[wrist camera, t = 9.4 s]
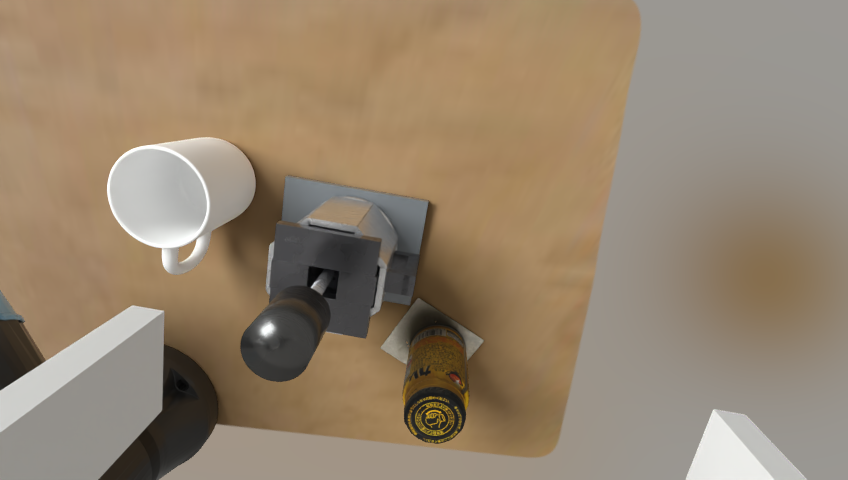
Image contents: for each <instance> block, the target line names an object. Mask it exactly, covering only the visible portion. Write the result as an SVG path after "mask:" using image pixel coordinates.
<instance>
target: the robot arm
mask: <svg viewBox="0 0 848 480" xmlns="http://www.w3.org/2000/svg"><path fill="white" fill-rule="evenodd" d="M24 322H25V320H24V319H23V317H22V316H21V315H18V314H16V312H15V311H14V309H13V308H12V307H11V305H10V304H9V302H8V301H7V299H6V298H5V296H4V295H3V294H2V292H1V291H0V480H159V479H160V478H161V477H163V476H164V475H166V474H167V473H169V472H170V471H171V470H173V469H174V468H176V467H177V466H178V465H180V464H182V463H184V462H185V461H187V460H189V459H190V458H191V457H192V456H194V455H195V454H196V453H197V452H198V451H199V449H201V447H202V446H203V444H204V443H205V442H206V440H207V439H208V437H209V436H210V435H211V433H212V431H213V429H214V427H215V425H216V421H217V416H218V403H217V398H216V394H215V391H214V388H213V386H212V384H211V382H210V380H209V379H208V377H207V376H206V374H205V373H204V372H203V370H202V369H201V368H200V367H199V366H198V365H197V364H196V363H195V362H194V361H192V360H191V359H190V358H189V357H187V356H186V355H184V354H183V353H181V352H179V351H177V350H175V349H173V348H171V347H169V346H166V345H164V311H161V310H156V309H150V308H144V307H139V306H133V305H132V306H130V307H129V308H127V309H126V310H124V311H123V312H121V313H120V314H118V315H117V316H115V317H113V318H112V319H110V320H109V321H107V322H106V323H104V324H103V325H101V326H100V327H98V328H96V329H95V330H93V331H92V332H90V333H89V334H87V335H86V336H84V337H82V338H81V339H79V340H78V341H76V342H75V343H73V344H72V345H70V346H69V347H67V348H65V349H64V350H62V351H61V352H59V353H58V354H56V355H55V356H53V357H52V358H50V359H48V360H47V361H46V360H45V358H44V357H43V355H42V354H41V352H40V350H39V349H38V347H37V345H36V344H35V342H34V341H33V339H32V337H31V336H30V334H29V332H28V331H27V329H26V328H25V326H24V324H23V323H24ZM686 480H807V479H806V478H805V477H804V476H803V475H802V474H801V473H800V472H799V470H798V469H796V467H795V466H794V465H793V464H792V463H791V462H790V461H789V460H788V459H787V458H786V457H785V456H784V455H783V454H782V453H781V452H780V450H779V449H778V448H777V447H776V446H775V445H774V444H773V443H772V442H771V441H770V440H769V439H768V438H767V437H766V436H765V435H764V434H763V433H762V432H761V430H760V429H759V428H758V427H757V426H756V425H755V424H754V423H753V422H752V421H751V420H750V419H749V418H748V417H747V416H746V415H744V414H739V413H733V412H727V411H722V410H716V409H714V410H713V412H712V414H711V417H710V420H709V422H708V425H707V427H706V429H705V432H704V435H703V437H702V440H701V442H700V445H699V447H698V450H697V452H696V455H695V457H694V460H693V462H692V465H691V468H690V470H689V472H688V475H687V477H686Z"/></svg>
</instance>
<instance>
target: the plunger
mask: <svg viewBox="0 0 848 480" xmlns="http://www.w3.org/2000/svg"><path fill="white" fill-rule="evenodd" d="M315 227H321V228H326V229H332V230H338V231H343V232H349V233H354V232H350V231H345V230H339V229H333V228H328V227H322V226H317V225H315ZM354 234H355V233H354ZM378 268H379V265H378ZM377 270H378V269H377ZM311 273H312V275H313V276H314V277H315V278H316V279H317V280H316V281H315V282H314V284H313V285H312V286H311V288H310V287H307V286H301V285H296V286H290V287H287V288H285V289H283V290H282V291H280V292H279V293H278V294H277V295H276V297H275V298H274V299H273V300H272V301H271V302H270V303H269V304H268V306H267V307H266V308H265V309H264V310H263V311H262V312H261V313H260V315H259V316H258V317H257V318H256V319H255V320H254V321H253V323H252V324H251V325H250V326H249V327H248V328H247V329H246V331H245V332H244V334H243V336H242V339H241V354H242V357H243V359H244V361H245V363H246V365H247V366H248V367H249V368H250V369H251V371H253V372H254V373H255V374H256V375H258V376H260V377H262V378H264V379H266V380H270V381H276V382H283V381H288V380H291V379H294V378H296V377H298V376H299V375H300V374H301V373H302V372H303V371H304V370H305V369H306V367H307V365H308V363H309V362H310V360H311V358H312V356H313V354H314V352H315V350H316V348H317V347H318V345H319V343H320V341H321V339H322V337H323V335H324V333H325V332H326V330H327V328H328V326H329V323H330V319H331V312H330V308H329V305H328V303H327V301H326V300H325V298H324V297H323V296H322V294H323V293H324V291H325V290H326V288H327V287H330V288H333V289H337V285H338V278H339V271H336V270H330V269H324V268H319V267H313V266H312V268H311Z"/></svg>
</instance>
